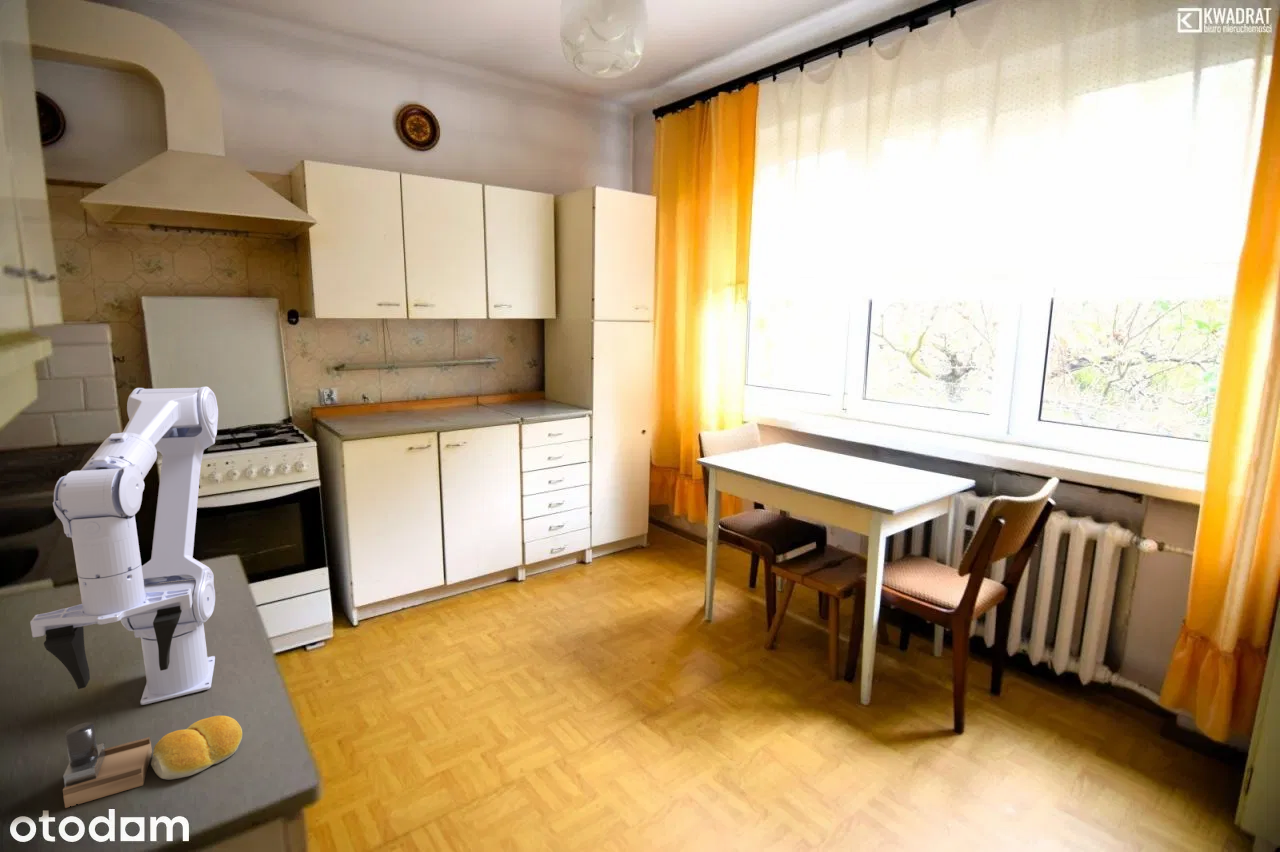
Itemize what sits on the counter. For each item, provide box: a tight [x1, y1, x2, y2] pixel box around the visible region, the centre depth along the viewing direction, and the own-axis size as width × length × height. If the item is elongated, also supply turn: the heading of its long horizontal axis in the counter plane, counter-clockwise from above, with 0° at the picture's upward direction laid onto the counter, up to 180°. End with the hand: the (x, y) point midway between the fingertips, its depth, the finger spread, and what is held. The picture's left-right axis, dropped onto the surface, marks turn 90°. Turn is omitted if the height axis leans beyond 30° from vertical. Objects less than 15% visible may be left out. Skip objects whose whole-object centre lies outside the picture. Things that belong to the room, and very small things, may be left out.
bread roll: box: [150, 715, 243, 780], centre depth 76 cm, size 8×9×4 cm
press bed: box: [62, 736, 153, 809], centre depth 71 cm, size 6×7×2 cm
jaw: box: [63, 722, 106, 787], centre depth 70 cm, size 5×3×5 cm, turn 31°
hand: (125, 674), depth 75 cm, fingers open, 7 cm apart
